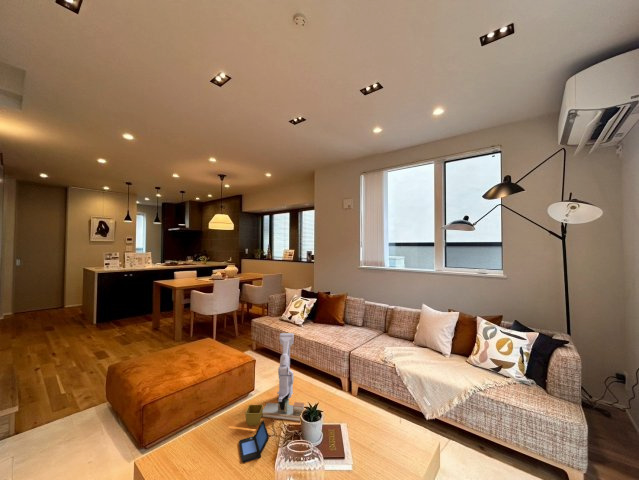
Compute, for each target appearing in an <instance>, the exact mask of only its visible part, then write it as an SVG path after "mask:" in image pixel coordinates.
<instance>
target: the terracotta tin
mask: <svg viewBox="0 0 639 480" xmlns="http://www.w3.org/2000/svg"><path fill="white" fill-rule="evenodd" d="M304 407H305V403H304V402H297V401H295V402H294V404H293V415H294V416H300V415H301V413H302V411H303V410H304Z"/></svg>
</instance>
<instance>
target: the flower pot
mask: <svg viewBox="0 0 639 480" xmlns="http://www.w3.org/2000/svg"><path fill="white" fill-rule="evenodd" d="M263 409H264V405H263V404H248V406H247V409H246V411H245V413H244V415H245V422H246V424H247V426H248V427H249V426H251V427H253V426H256V427H257V426H258V427H259V425H260V423H261V419H262V417H261V416H262V411H263Z"/></svg>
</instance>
